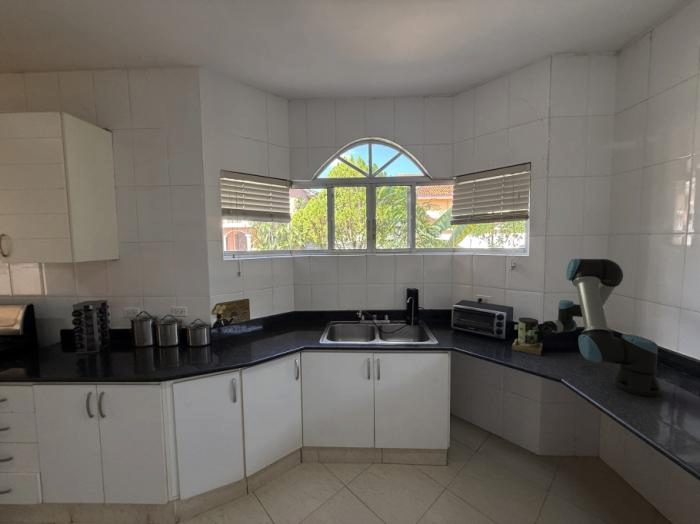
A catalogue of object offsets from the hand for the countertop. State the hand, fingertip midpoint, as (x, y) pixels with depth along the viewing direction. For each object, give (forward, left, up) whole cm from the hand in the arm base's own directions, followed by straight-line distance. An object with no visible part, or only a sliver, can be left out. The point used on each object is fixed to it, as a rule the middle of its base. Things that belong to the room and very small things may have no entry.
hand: (522, 330), depth 180 cm
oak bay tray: (+3, -3, -12) cm, 13 cm away
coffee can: (+3, -3, -8) cm, 9 cm away
